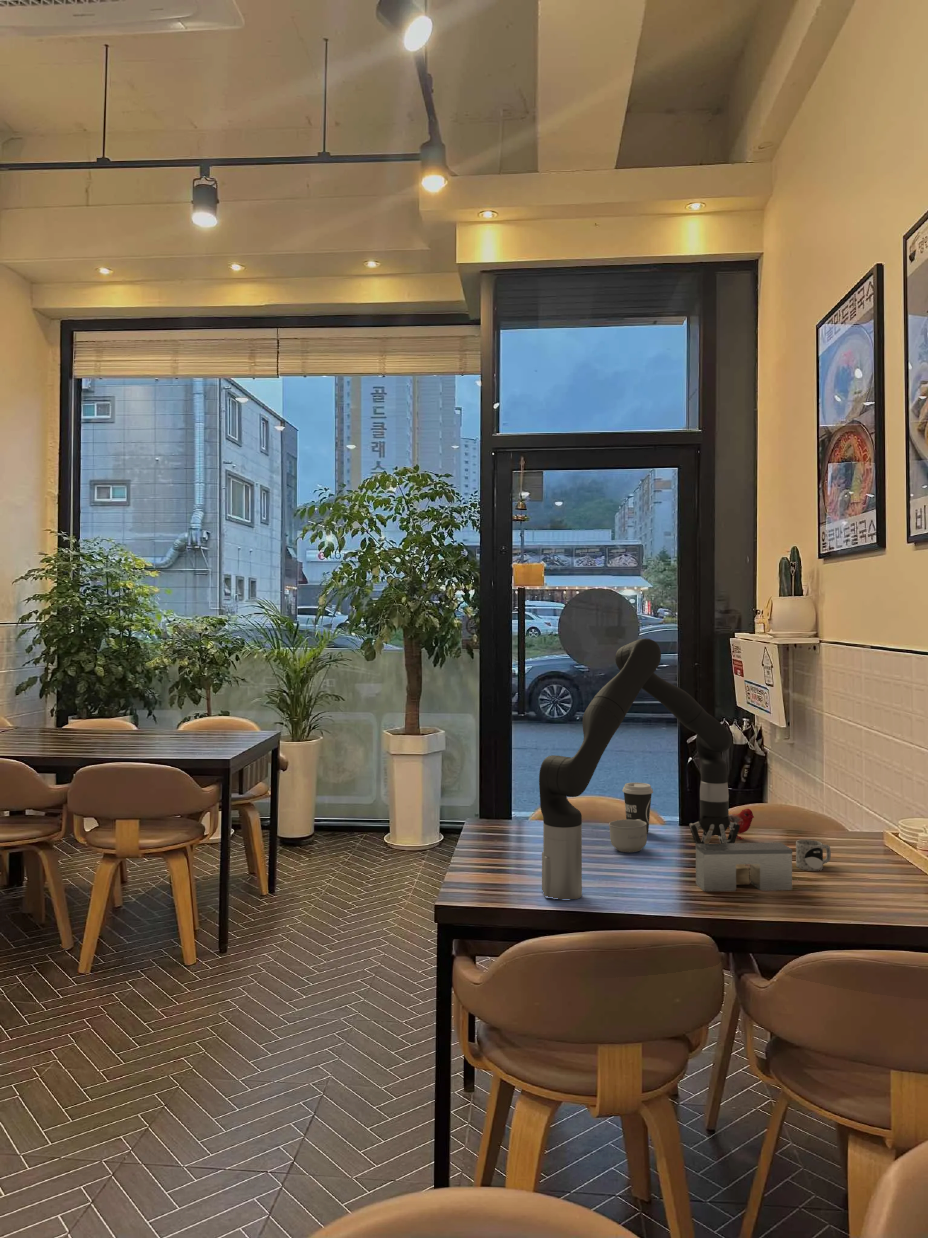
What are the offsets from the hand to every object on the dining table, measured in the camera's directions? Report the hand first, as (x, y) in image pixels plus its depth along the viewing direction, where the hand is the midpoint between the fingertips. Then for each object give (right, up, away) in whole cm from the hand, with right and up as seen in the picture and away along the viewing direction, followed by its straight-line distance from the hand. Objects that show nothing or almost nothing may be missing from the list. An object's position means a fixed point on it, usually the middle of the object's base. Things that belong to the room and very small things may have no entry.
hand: (714, 860), depth 222 cm
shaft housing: (+1, 0, -21) cm, 21 cm away
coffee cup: (-14, -1, +34) cm, 36 cm away
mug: (+26, -1, -3) cm, 26 cm away
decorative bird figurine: (+14, -1, +28) cm, 32 cm away
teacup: (-20, -1, +14) cm, 25 cm away
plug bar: (0, 0, -8) cm, 8 cm away
